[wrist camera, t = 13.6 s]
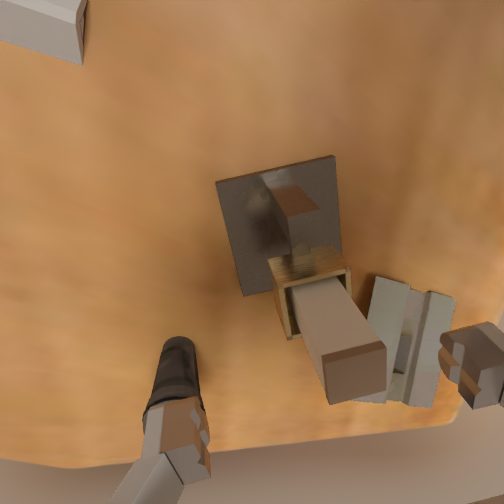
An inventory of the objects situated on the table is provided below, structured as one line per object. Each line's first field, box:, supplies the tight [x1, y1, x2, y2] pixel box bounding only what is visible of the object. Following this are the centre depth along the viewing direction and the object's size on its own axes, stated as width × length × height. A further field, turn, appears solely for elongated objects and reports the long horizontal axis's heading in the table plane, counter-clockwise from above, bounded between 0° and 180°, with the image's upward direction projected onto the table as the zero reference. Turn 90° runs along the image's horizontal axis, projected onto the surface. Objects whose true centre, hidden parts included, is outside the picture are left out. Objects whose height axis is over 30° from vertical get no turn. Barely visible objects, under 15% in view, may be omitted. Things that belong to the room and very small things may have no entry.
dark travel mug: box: [142, 336, 206, 435], centre depth 41 cm, size 7×7×20 cm
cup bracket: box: [215, 155, 352, 341], centre depth 38 cm, size 14×16×13 cm
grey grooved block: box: [352, 276, 456, 408], centre depth 51 cm, size 19×10×17 cm
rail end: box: [287, 276, 387, 405], centre depth 31 cm, size 5×5×13 cm
